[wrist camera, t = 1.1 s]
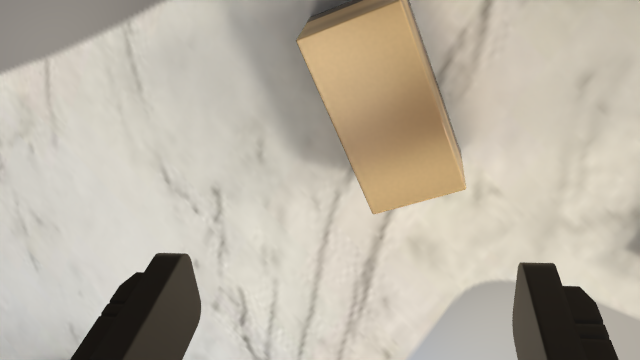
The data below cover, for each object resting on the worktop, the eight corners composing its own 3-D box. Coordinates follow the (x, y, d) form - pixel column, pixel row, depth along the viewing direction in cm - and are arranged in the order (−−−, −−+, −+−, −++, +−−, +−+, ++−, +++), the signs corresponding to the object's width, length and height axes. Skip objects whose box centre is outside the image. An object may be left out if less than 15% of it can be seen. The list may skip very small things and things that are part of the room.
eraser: (309, 17, 29) (295, 40, 26) (402, -20, 28) (400, -1, 24) (377, 177, 33) (372, 215, 30) (461, 152, 32) (466, 190, 28)
